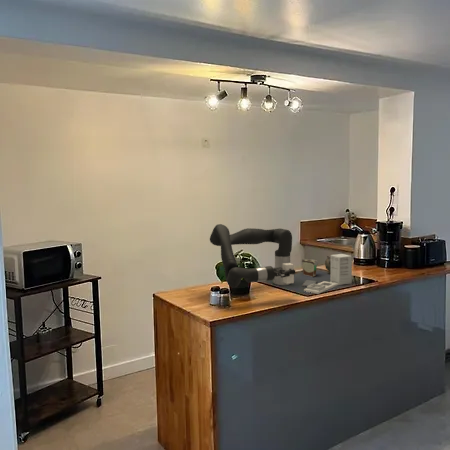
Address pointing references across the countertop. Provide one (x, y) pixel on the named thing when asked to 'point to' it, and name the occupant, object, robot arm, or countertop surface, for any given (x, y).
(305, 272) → the food container
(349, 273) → the supplement box
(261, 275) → the robot arm
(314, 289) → the pale grey tray
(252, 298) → the countertop surface
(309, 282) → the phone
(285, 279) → the charger
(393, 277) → the countertop surface
